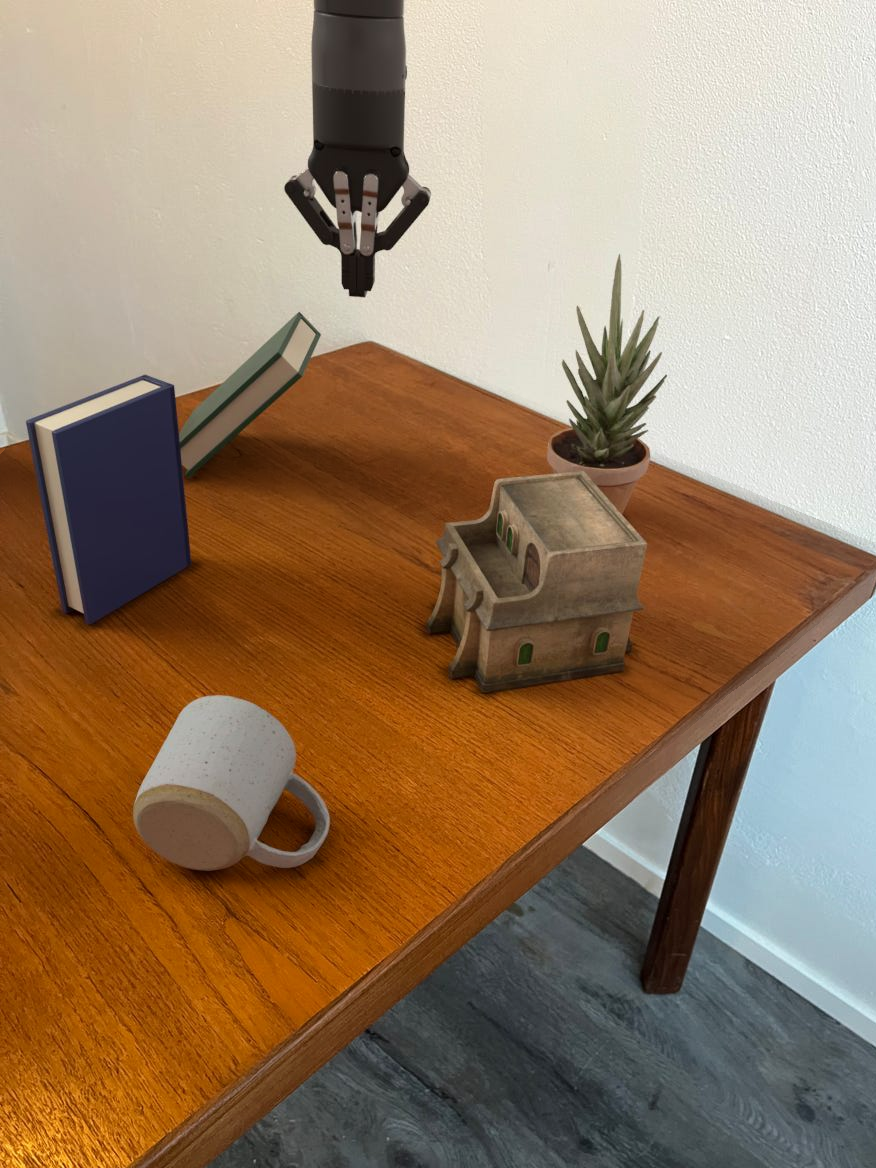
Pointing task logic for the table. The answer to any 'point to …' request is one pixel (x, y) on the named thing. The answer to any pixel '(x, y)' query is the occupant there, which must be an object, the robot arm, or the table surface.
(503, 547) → the miniature house
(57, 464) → the navy book
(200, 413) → the green book
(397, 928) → the table surface
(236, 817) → the ceramic mug
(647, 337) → the potted plant
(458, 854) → the table surface
